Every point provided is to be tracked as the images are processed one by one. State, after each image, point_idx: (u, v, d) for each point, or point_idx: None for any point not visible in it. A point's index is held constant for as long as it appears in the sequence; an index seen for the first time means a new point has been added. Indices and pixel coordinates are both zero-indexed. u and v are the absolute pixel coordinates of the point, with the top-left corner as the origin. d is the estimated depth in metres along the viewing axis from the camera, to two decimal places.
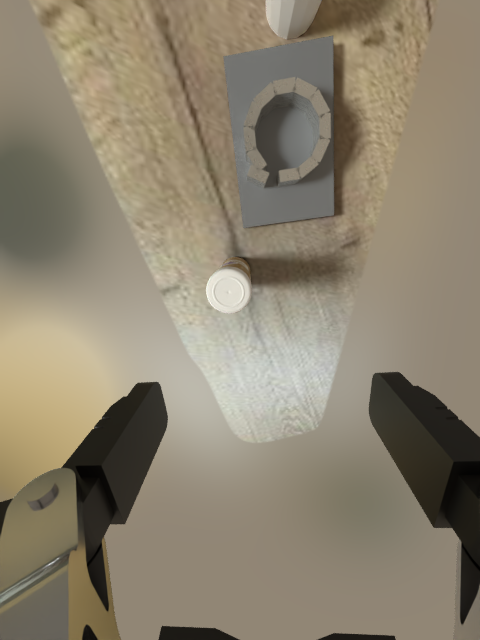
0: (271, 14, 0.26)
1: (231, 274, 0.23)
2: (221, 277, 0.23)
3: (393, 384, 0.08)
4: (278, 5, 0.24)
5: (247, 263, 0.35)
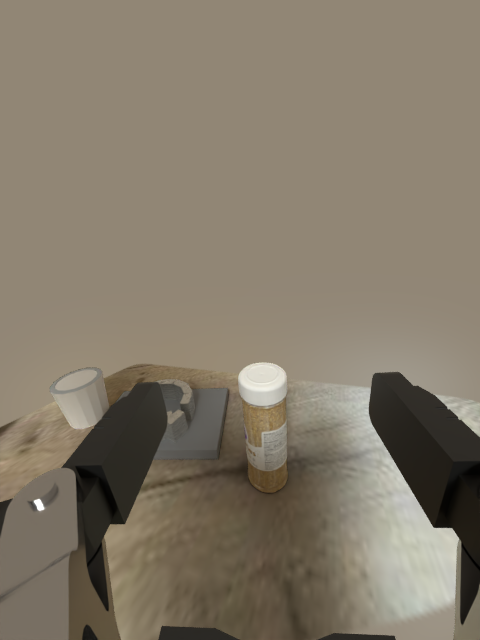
0: (86, 417, 0.36)
1: (244, 371, 0.23)
2: (245, 377, 0.22)
3: (393, 384, 0.08)
4: (88, 403, 0.36)
5: None
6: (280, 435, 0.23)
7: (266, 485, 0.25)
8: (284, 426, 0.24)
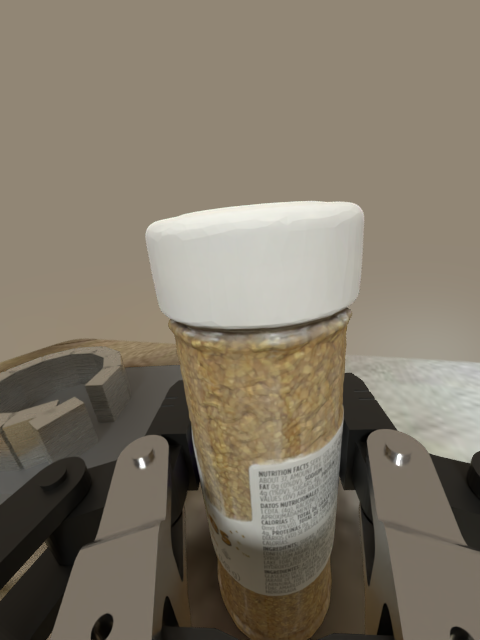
0: None
1: None
2: None
3: None
4: None
5: None
6: (326, 471, 0.06)
7: (270, 630, 0.08)
8: (340, 436, 0.06)
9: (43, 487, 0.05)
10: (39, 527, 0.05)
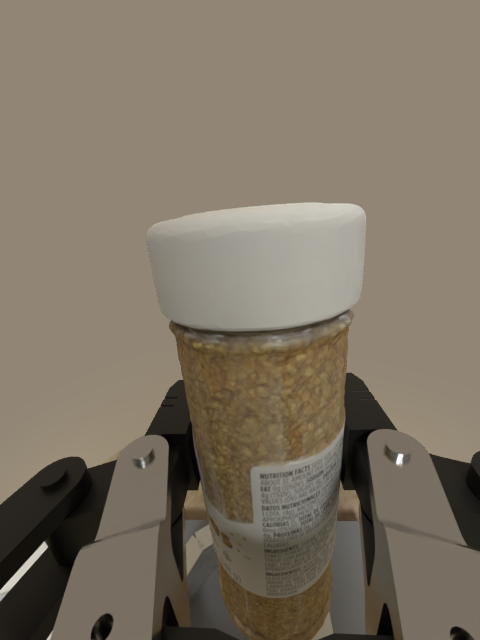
0: None
1: None
2: None
3: None
4: None
5: None
6: (328, 474, 0.06)
7: (271, 632, 0.08)
8: (341, 438, 0.06)
9: (43, 487, 0.05)
10: (39, 527, 0.05)
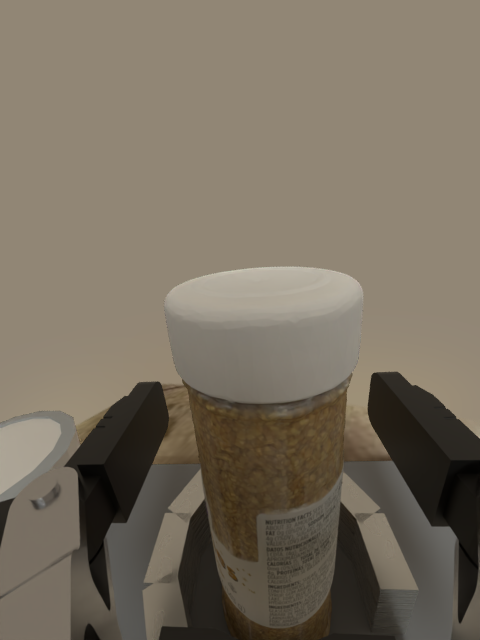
0: None
1: (194, 279, 0.06)
2: (191, 287, 0.06)
3: (391, 384, 0.08)
4: None
5: None
6: (327, 516, 0.06)
7: None
8: (340, 481, 0.06)
9: None
10: None
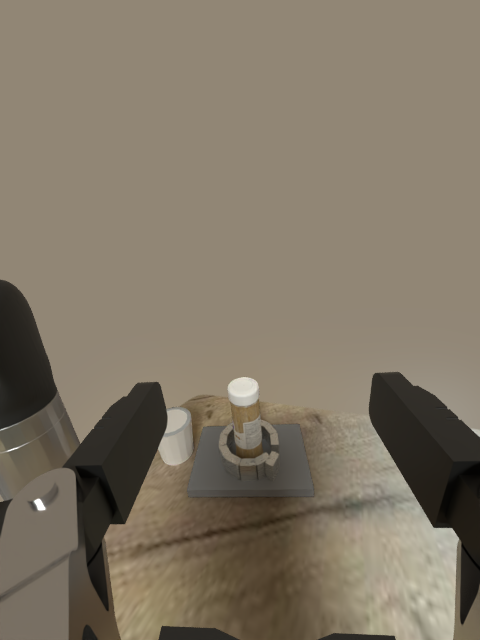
0: (181, 454, 0.41)
1: (231, 383, 0.36)
2: (232, 387, 0.35)
3: (393, 384, 0.08)
4: (183, 443, 0.40)
5: None
6: (255, 424, 0.36)
7: None
8: (258, 419, 0.36)
9: None
10: None
